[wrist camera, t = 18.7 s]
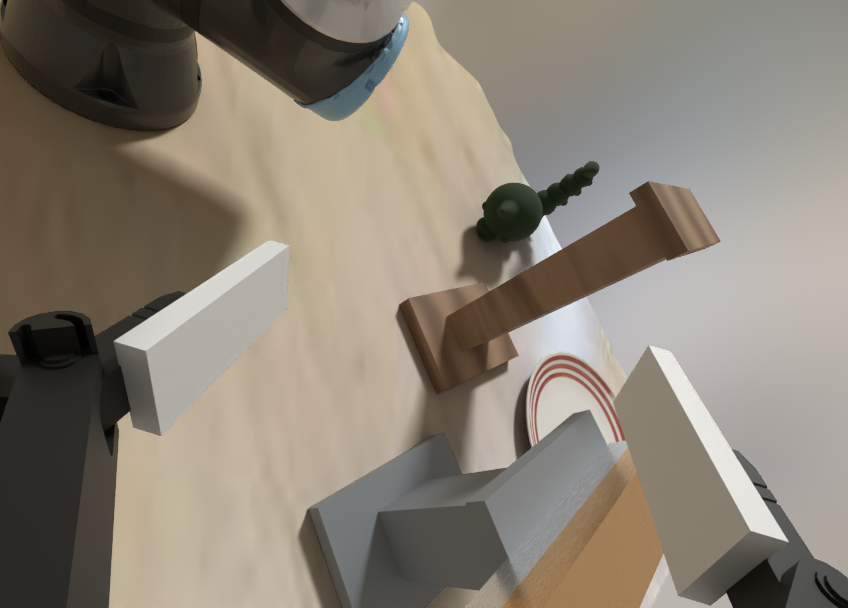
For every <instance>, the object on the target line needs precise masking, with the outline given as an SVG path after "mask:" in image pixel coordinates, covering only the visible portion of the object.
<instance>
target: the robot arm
mask: <svg viewBox="0 0 848 608" xmlns="http://www.w3.org/2000/svg"><path fill="white" fill-rule="evenodd" d="M405 4H406V0H2V1H1V3H0V32H1V39H2V44H3V47H4V50H5V52H6V54H7V56H8V58H9V60H10V61H11V63H12V64H13V66H14V67H15V68H16V69H17V71H18V72H19V73H20V74H21V75H22V76H23V77H24V78H25V79H26V80H27V81H28V82H29V83H30V84H31V85H33V86H34V87H35V88H36V89H37V90H39V91H40V92H41V93H43V94H44V95H46V96H47V97H48V98H50V99H52V100H53V101H55V102H56V103H58V104H60V105H61V106H63V107H65V108H67V109H69V110H71V111H73V112H75V113H77V114H80V115H82V116H84V117H87V118H89V119H92V120H95V121H98V122H101V123H104V124H108V125H111V126H116V127H120V128H126V129H133V130H161V129H167V128H171V127H174V126H177V125H179V124H181V123H183V122H184V121H186V120H187V119H188V118H189V117H190V116H191V115H192V114H193V113H194V111H195V109H196V107H197V103H198V100H199V96H200V93H201V87H202V78H201V72H200V68H199V65H198V62H197V59H198V54H197V44H196V37H195V31H196V32H198V33H199V34H201V35H202V36H204V37H205V38H206V39H208V40H209V41H211V42H212V43H214V44H215V45H217V46H218V47H219V48H221V49H222V50H224V51H225V52H227V53H228V54H230V55H231V56H233V57H234V58H235V59H237V60H238V61H240V62H241V63H243V64H244V65H246V66H247V67H248V68H250V69H251V70H253V71H254V72H256V73H257V74H259V75H260V76H261V77H263V78H264V79H266V80H267V81H268V82H270V83H271V84H273V85H274V86H275V87H277V88H278V89H280V90H281V91H282V92H284V93H285V94H287V95H288V96H289V97H291V98H292V99H294V101H295V102H296V103H297V104H298V105H300V106H301V107H303V108H308V109H310V110H311V111H313V112H315V113H316V114H318V115H319V116H321V117H323V118H324V119H326V120H330V121H340V120H343V119H345V118H347V117H349V116H350V115H352V114H353V113H354V112H355V111H356V110H358V109H359V108H360V107H361V106H362V105H363V104H364V103H365V102H366V100H367V99H368V98H369V97H370V96H371V94H372V93H373V91H374V88H375V87H376V86H377V85H378V84H380V83H381V81H382V80H383V79H384V78H385V76H386V75H387V73H388V72H389V70H390V69H391V67H392V65H393V64H394V62H395V60H396V59H397V57H398V55H399V53H400V51H401V49H402V47H403V45H404V42H405V40H406V37H407V34H408V30H409V22H408V19H407V16H406V15H405V14H404V9H405ZM288 262H289V245H285V244H282V243H278V242H274V241H271V240H269V241H267V242H266V243H264V244H262V245H261V246H259V247H258V248H256V249H255V250H253V251H252V252H250V253H249V254H247V255H245V256H244V257H242V258H241V259H239V260H238V261H236V262H235V263H233V264H232V265H230V266H229V267H227V268H225V269H224V270H222V271H221V272H219V273H218V274H216V275H215V276H213V277H212V278H210V279H209V280H207V281H205V282H204V283H202V284H201V285H199V286H198V287H196V288H195V289H193V290H192V291H190V292H189V293H183V292H180V291H178V292H174V293H171V294H168V295H165V296H162V297H159V298H157V299H156V300H154V301H152V302H151V303H149V304H147V305H146V306H145V307H144V309H143V308H141V309H139V310H138V311H136V312H134V313H133V314H132V316H128V317H126V318H124V319H123V320H121V321H119V322H118V323H116V324H115V325H113V326H111V327H110V328H108V329H106V330H105V331H103V332H101V333H100V334H98V335H96V336H95V337H94V333H93V329H92V325H91V321H90V318H88V317H87V316H85V315H84V314H82V313H77V312H72V311H54V312H48V313H42V314H38V315H35V316H32V317H29V318H26V319H24V320H22V321H21V322H19V323H17V324H15V325H14V326H13V327H12V328H11V330H10V331H9V332H8V333H9V336H10V338H11V341H12V344H13V346H14V349H15V351H16V354H17V355H1V354H0V608H109V592H110V575H111V558H112V541H113V524H114V507H115V490H116V473H117V455H118V438H119V429H118V425H117V422H118V421H119V420H120V419H121V418H122V417H123V416H124V415H126V414H127V413H128V412H129V411H130V415H131V420H132V424H133V427H134V428H137V429H140V430H143V431H146V432H150V433H153V434H156V435H159V436H162V435H163V434H164V433H165V432H166V431H167V430H168V429H169V428H170V427H171V426H172V425H173V424H174V423H175V422H176V421H177V420H178V419H179V418H180V417H181V416H182V415H183V414H184V413H185V412H186V411H187V410H188V409H189V408H190V407H191V406H192V404H193V403H194V402H195V401H196V400H197V399H198V398H199V397H200V396H201V395H202V394H203V393H204V392H205V391H206V390H207V389H208V388H209V387H210V386H211V385H212V384H213V383H214V382H215V381H216V380H217V379H218V378H219V377H220V376H221V375H222V374H223V373H224V372H225V371H226V370H227V369H228V368H229V367H230V366H231V365H232V364H233V363H234V362H235V361H236V360H237V359H238V358H239V357H240V356H241V355H242V354H243V353H244V352H245V351H246V350H247V349H248V348H249V347H250V346H251V345H252V344H253V343H254V342H255V341H256V340H257V339H258V338H259V337H260V335H261V334H262V333H263V332H264V331H265V330H266V329H267V328H268V327H269V326H270V325H271V324H272V323H273V322H274V321H275V320H276V319H277V318H278V317H279V316H280V315H281V314H282V313H283V312H284V311H285V310H286V309H287V285H288ZM613 404H614V407H615V410H616V413H617V416H618V419H619V422H620V425H621V428H622V431H623V434H624V437H625V440H626V443H627V446H628V449H629V452H630V455H631V458H632V461H633V463H634V466H635V469H636V472H637V475H638V478H639V481H640V484H641V487H642V490H643V493H644V496H645V499H646V502H647V505H648V508H649V511H650V514H651V517H652V520H653V523H654V526H655V529H656V532H657V535H658V538H659V540H660V543H661V546H662V549H663V552H664V555H665V558H666V561H667V564H668V567H669V570H670V573H671V576H672V579H673V582H674V585H675V588H676V591H677V594H678V596H681V597H685V598H688V599H691V600H694V601H697V602H701V603H704V604H707V605H712V604H713V603H714V602H716V601H717V600H718V599H719V598H721V597H722V596H723V595H724V594H725V593H727V595H728V597H729V600H730V602H731V604H732V606H733V608H848V578H847V577H846V576H844V575H843V574H842V573H841V572H839V571H838V570H836V569H835V568H833V567H831V566H830V565H828V564H827V563H824V562H822V561H819V560H817V559H814V557H813V556H812V554H811V553H810V551H809V550H808V548H807V546H806V545H805V543H804V542H803V540H802V539H801V537H800V536H799V534H798V533H797V531H796V530H795V528H794V527H793V525H792V523H791V522H790V521H789V519H788V517H787V516H786V514H785V513H784V511H783V510H782V508H781V507H780V505H778V504H776V502H777V500H776V499H775V498H774V496H773V494H772V493H771V491H770V490H768V489H767V485H766V484H765V482H764V481H763V479H762V478H761V476H760V474H759V473H758V471H757V470H756V469H755V467H754V466H753V465H752V464H751V463H750V462H748V460H747V459H746V458H745V457H744V456H742V455H741V453H740V452H739V451H736V450H732V449H731V448H730V446H729V445H728V443H727V441H726V440H725V438H724V437H723V435H722V433H721V432H720V430H719V429H718V427H717V425H716V424H715V422H714V421H713V419H712V417H711V416H710V414H709V412H708V411H707V409H706V408H705V406H704V404H703V403H702V401H701V400H700V398H699V397H698V395H697V393H696V392H695V390H694V388H693V387H692V385H691V383H690V382H689V380H688V379H687V377H686V376H685V374H684V373H683V371H682V369H681V367H680V366H679V364H678V363H677V361H676V359H675V358H674V356H673V354H672V353H671V352H670V351H667V350H664V349H660V348H656V347H653V346H648V347H647V349H646V350H645V352H644V354H643V355H642V357H641V358H640V360H639V362H638V363H637V365H636V367H635V368H634V370H633V371H632V373H631V374H630V376H629V378H628V379H627V381H626V382H625V384H624V386H623V387H622V389H621V390H620V392H619V394H618V395H617V397H616V398H615V400H614V402H613Z"/></svg>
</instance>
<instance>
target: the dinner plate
mask: <svg viewBox="0 0 848 608" xmlns="http://www.w3.org/2000/svg"><path fill="white" fill-rule="evenodd" d="M616 397H617V395H616V394H615V392H614V391H613V389H612V388H611V386H610V385H609V384H608V382H607V381H606V380H605V378H604V377H603V376H602V375H601V374H600V373H599V372H598V371H597V370H596V369H595V368H594V367H593V366H592V365H591V364H590V363H588V362H587V361H586V360H584V359H583V358H581V357H579V356H577V355H575V354H572V353H569V352H554V353H551V354H549V355H547V356H545V357H544V358H542V359H541V360H540V361H539V363H538V364H537V365H536V367H535V368H534V370H533V372H532V375H531V378H530V381H529V385H528V389H527V396H526V421H527V430H528V436H529V441H530V446H531V448H532V447H533V446H534V445H536V444H537V443H538V442H539V441H540V440H542V439H543V438H544V437H545V436H546V435H548V434H549V433H550V432H551V431H553V430H554V429H555V428H556V427H557V426H559V425H560V424H561V423H562V422H563V421H565V420H566V419H567V418H568V417H569V416H571V415H572V414H573V413H577V412H581V411H585V410H589V409H590V411H591V413H592V415H593V417H594V419H595V421H596V423H597V425H598V427H599V429H600V431H601V433H602V435H603V437H604V439H605V441H606V443H607V445H608V444H609V443H614V442H619V441H625V437H624V434H623V431H622V428H621V425H620V422H619V419H618V416H617V413H616V410H615V407H614V404H613V402H614V400H615V398H616Z"/></svg>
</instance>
